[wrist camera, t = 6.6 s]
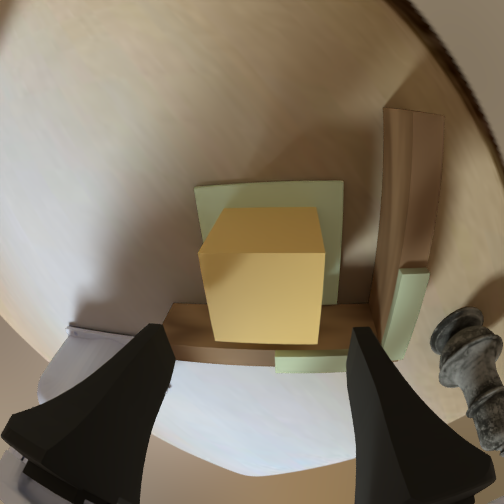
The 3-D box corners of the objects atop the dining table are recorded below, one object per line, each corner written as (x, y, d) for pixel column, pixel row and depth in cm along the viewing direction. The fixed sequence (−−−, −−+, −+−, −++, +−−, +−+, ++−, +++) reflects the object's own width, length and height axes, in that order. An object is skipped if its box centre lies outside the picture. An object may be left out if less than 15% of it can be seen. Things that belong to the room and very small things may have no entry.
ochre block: (232, 283, 18) (215, 340, 14) (223, 208, 16) (197, 253, 12) (313, 284, 18) (317, 344, 13) (316, 206, 15) (325, 253, 11)
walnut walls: (178, 318, 21) (157, 363, 17) (132, 126, 14) (85, 140, 11) (385, 318, 19) (399, 367, 15) (409, 110, 12) (450, 117, 8)
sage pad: (216, 301, 20) (215, 304, 19) (195, 186, 16) (193, 188, 16) (336, 301, 18) (336, 304, 18) (342, 180, 15) (343, 181, 14)
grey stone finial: (458, 295, 17) (525, 434, 7) (496, 314, 17) (553, 427, 7) (413, 349, 20) (446, 484, 10) (455, 360, 20) (490, 472, 10)
